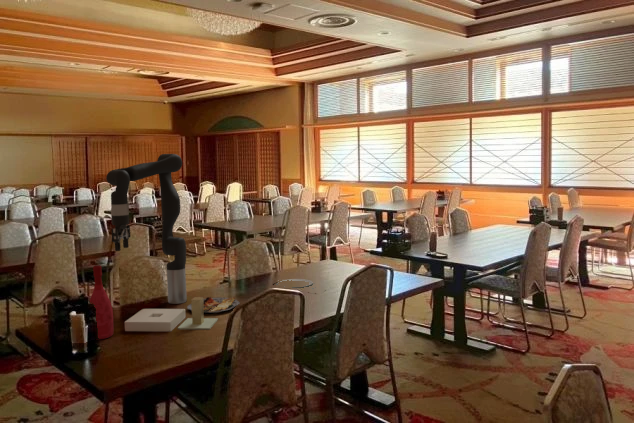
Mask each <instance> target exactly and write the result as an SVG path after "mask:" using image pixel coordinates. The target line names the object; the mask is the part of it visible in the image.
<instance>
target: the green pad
mask: <svg viewBox="0 0 634 423" xmlns="http://www.w3.org/2000/svg"><path fill="white" fill-rule="evenodd" d="M218 321H219V318H217V317H216V318H215V317H213V318H212V317H204V322H203V323H202V324H192V317H188V318H185V319H184V320H183V321H182V322H181V323H180V324H179V326H178V327H177V330H211V329H212V328H213V326H214V325H215V324H217V322H218Z"/></svg>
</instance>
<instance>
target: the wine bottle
mask: <svg viewBox="0 0 634 423" xmlns="http://www.w3.org/2000/svg"><path fill="white" fill-rule="evenodd" d="M92 269H93V277H94V287H93V291H92V293H91V296H90V298H89V301H90V303H91V302H92V303H93V304H94V305H95V306H94V307H95V308H96V321H97V328H98V338H99V339H98V340H104V339H107V338H111V337H112V336H113V335H114V333H115V332H114V310H113V306H112V305H113V304H112V303H111V299H110V298H109V296H108V294H107V292H106V291H105V289H104V285H103V280H102V276H103V270H102V269H103V268H102V265H99V264H96V265H94V266H92ZM92 303H91V304H92Z"/></svg>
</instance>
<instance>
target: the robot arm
mask: <svg viewBox="0 0 634 423" xmlns="http://www.w3.org/2000/svg"><path fill="white" fill-rule="evenodd" d="M182 166H183V160H182V158H181V156H180V155H178V154H176V153H162V154H160V155H159V156H158V157H157V160H156V161H150V162H143V163H138V164H133V165H132V166H131V165H129V166H128V167H127V166H126V167H121V168H116V169H112V170H110V171H108V172H107V173H106V174H107V175H106V177H105V179H106V182H107V183H108V184H109V185H111V186H114V187H115V190H113V191H112V192H111V194H110V203H111V206H110V207H111V208H110V214H111V216H110V217H111V218H110V219H111V225H113V226H114V228H111V242H112V243H113V244H114V250H115V252H120V251H121V249H122V248H121V239H122V244H123V245H122V246H123V249H127V248H129V239H130V238H131V226H130V214H129V213H130V210H129V204H128V203H129V202H128V192H129V189H130V188H129V187H130V183H131V182H135V181H140V180H142V179H146V178H149V177H152V176H155V175H158V178H159V179H158V181H159V187H160V188H159V190H160V206H161V216H162V217H161V220H162V221H161V222H162V231H161V232H162V234H161V249H162V250H161V251H162V253H163V254H164V255H165V256H174V259H173V260H172V261H170V262H167V263H166V283H167V284H166V286H167V300H168V301H167V302H168V304H174V305H176V304H177V305H178V304H183V303H186V302H187V301H188V300H187V298H188V296H187V278H186V275H187V274H186V265H187V264H186V263H187V242H186V240H185V238H184V237H178V236H173V232H174V231H173V230H174V226H175V224H176V221H177V220H178V218H179V216H180V214H181V200H180V194H179V193H178V192H177V190H176V187H175V185H174V183H173V179H172V178H173V177H172V173H176V172H179V171H180V170H181V169H182Z"/></svg>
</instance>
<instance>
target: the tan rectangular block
mask: <svg viewBox="0 0 634 423" xmlns="http://www.w3.org/2000/svg"><path fill="white" fill-rule="evenodd" d="M203 299H204V297H203V296H197V297H196V296H195V297H193V298H191V299H190V301H191V302H190V304H191V307H192V310H191V318H192V324H202V323H203V322H204V318H205V314H204V303H203Z"/></svg>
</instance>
